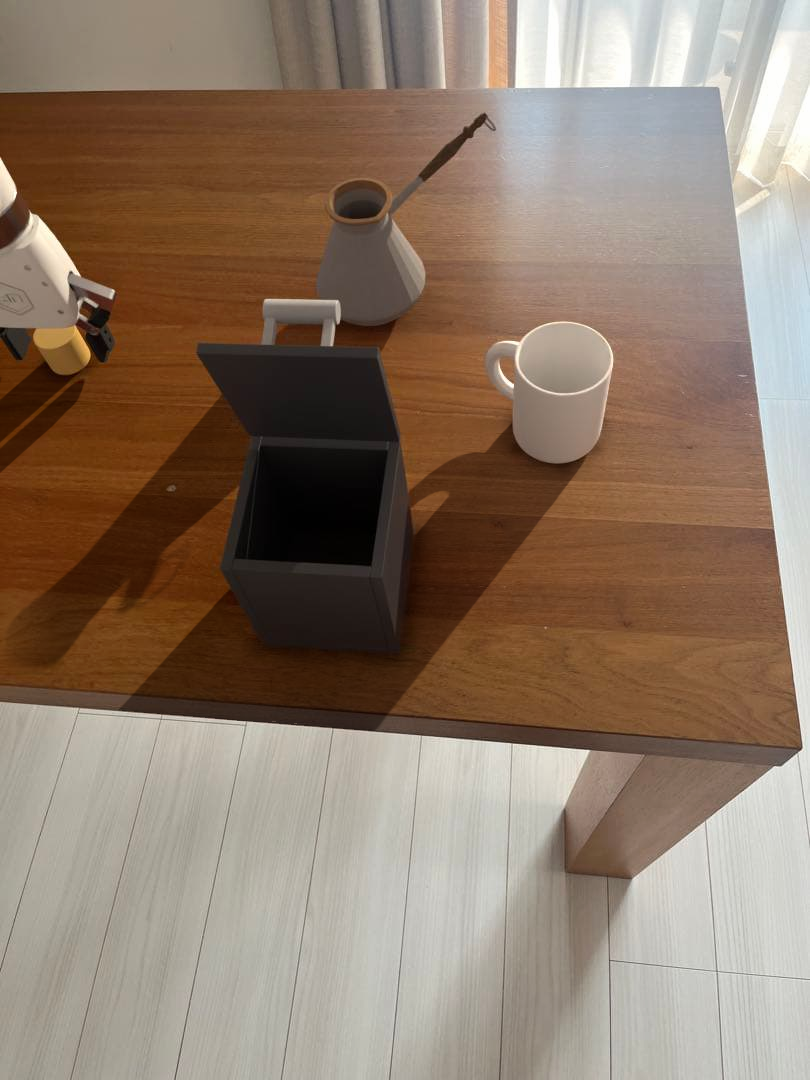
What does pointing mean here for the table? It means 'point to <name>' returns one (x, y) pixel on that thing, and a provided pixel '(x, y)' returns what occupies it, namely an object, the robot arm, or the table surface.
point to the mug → (555, 388)
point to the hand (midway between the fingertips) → (65, 350)
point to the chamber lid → (304, 380)
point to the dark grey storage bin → (322, 543)
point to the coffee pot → (375, 246)
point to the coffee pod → (62, 349)
